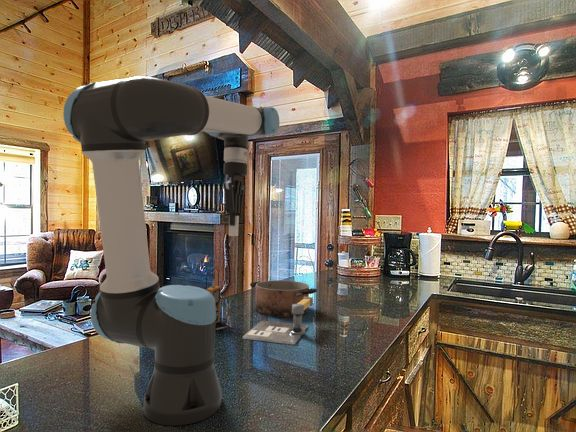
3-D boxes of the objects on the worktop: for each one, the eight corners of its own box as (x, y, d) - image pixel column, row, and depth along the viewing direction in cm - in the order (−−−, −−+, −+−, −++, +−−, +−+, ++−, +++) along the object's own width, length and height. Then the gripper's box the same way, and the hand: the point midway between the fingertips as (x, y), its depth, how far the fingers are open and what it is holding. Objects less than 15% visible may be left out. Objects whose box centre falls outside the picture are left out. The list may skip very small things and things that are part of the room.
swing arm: (301, 315, 117) (302, 306, 117) (290, 314, 118) (290, 305, 118) (313, 305, 132) (314, 297, 132) (303, 303, 133) (303, 296, 133)
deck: (298, 345, 110) (299, 322, 110) (242, 338, 114) (243, 316, 114) (310, 327, 128) (310, 307, 128) (261, 322, 132) (262, 303, 132)
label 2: (285, 333, 118) (285, 332, 118) (264, 331, 120) (264, 329, 120) (288, 329, 123) (288, 327, 123) (269, 327, 124) (269, 325, 124)
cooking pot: (237, 310, 149) (237, 284, 149) (265, 300, 169) (266, 277, 169) (302, 322, 135) (302, 293, 135) (324, 310, 154) (325, 285, 155)
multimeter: (227, 332, 120) (229, 272, 120) (199, 329, 122) (201, 270, 122) (241, 320, 134) (243, 266, 135) (216, 318, 136) (218, 265, 137)
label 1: (267, 338, 113) (267, 336, 113) (246, 335, 115) (247, 334, 115) (272, 333, 118) (272, 331, 118) (252, 331, 120) (252, 329, 120)
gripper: (238, 159, 109) (236, 237, 109) (253, 165, 121) (251, 235, 121) (216, 159, 111) (213, 236, 110) (232, 165, 123) (230, 234, 123)
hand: (233, 235), depth 116 cm, fingers closed
